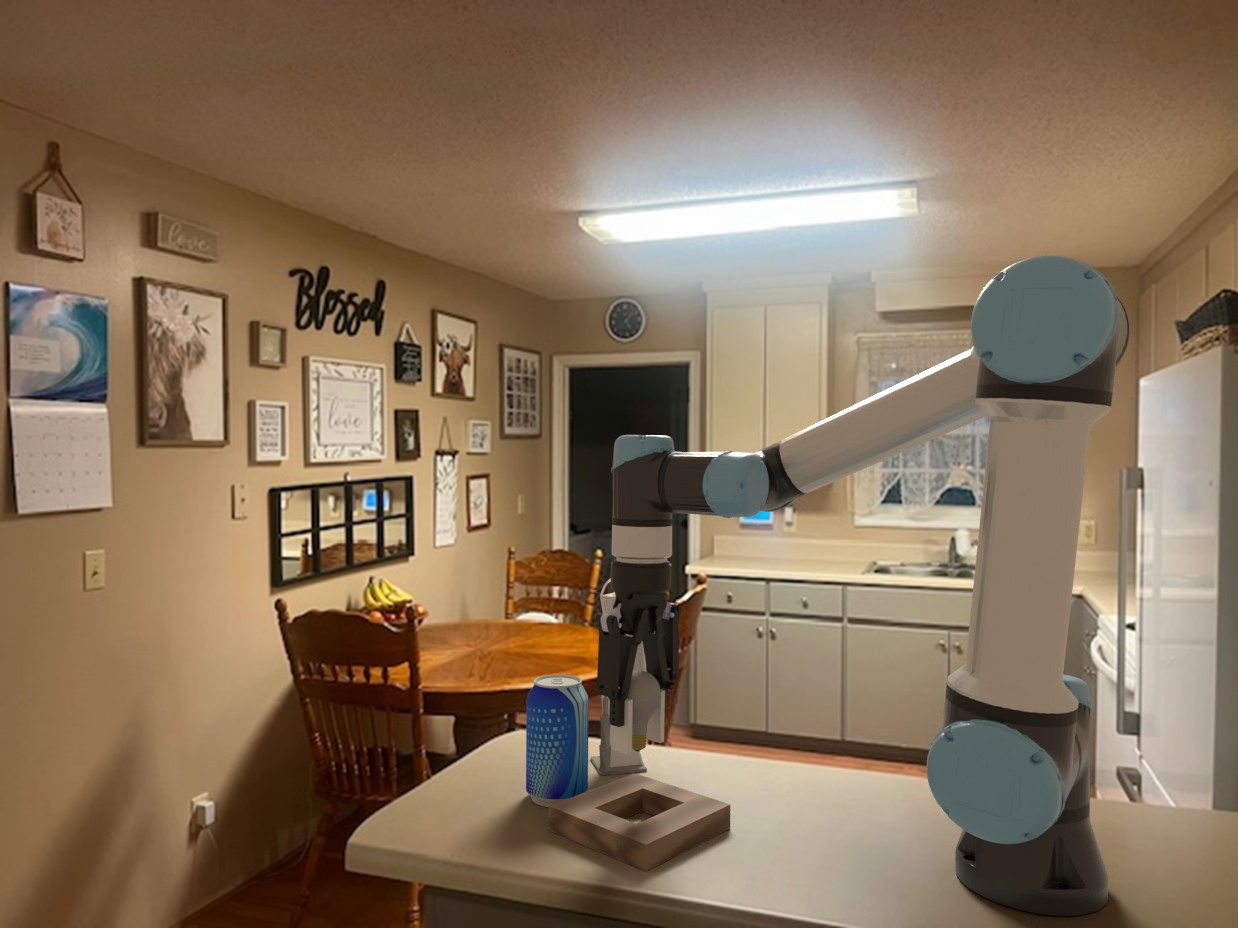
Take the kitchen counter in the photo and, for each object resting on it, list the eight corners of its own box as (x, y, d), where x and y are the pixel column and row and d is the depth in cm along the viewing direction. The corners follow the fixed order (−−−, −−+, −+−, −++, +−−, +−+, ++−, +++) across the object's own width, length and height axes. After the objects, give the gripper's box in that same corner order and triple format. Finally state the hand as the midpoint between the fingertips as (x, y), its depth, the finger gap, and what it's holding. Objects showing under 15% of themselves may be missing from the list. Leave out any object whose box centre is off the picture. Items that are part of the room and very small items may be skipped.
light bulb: (655, 759, 107) (657, 677, 107) (611, 756, 108) (613, 674, 108) (662, 745, 112) (664, 666, 112) (620, 742, 113) (621, 664, 113)
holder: (730, 828, 110) (730, 804, 110) (645, 871, 98) (646, 844, 98) (634, 794, 121) (634, 772, 121) (548, 829, 109) (548, 805, 109)
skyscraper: (588, 756, 137) (589, 575, 137) (639, 752, 139) (640, 574, 139) (600, 775, 129) (601, 583, 129) (654, 770, 130) (655, 581, 130)
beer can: (599, 794, 121) (600, 677, 121) (563, 814, 114) (564, 691, 114) (550, 782, 126) (551, 669, 126) (513, 801, 119) (513, 682, 119)
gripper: (665, 551, 119) (662, 723, 119) (566, 561, 105) (563, 755, 106) (710, 556, 114) (707, 735, 114) (612, 568, 100) (609, 771, 101)
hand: (638, 744), depth 110 cm, fingers closed on light bulb, 5 cm apart
